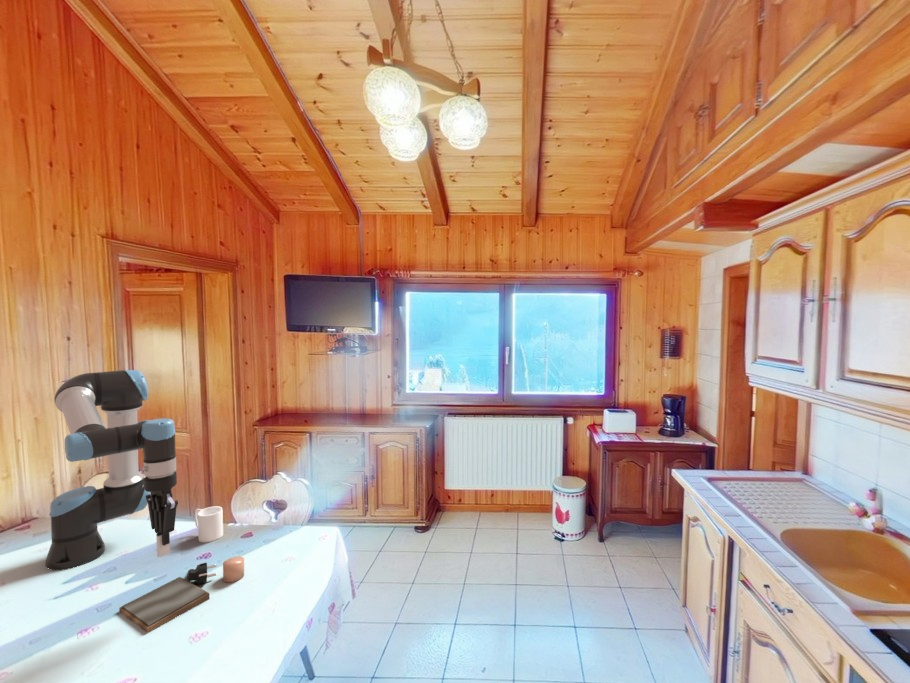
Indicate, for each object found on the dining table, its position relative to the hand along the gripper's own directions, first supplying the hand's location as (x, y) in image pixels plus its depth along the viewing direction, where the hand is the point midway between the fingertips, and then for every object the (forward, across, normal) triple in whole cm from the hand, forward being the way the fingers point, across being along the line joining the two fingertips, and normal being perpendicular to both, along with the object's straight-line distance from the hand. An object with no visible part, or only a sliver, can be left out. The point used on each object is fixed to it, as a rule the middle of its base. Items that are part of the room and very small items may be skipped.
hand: (163, 554), depth 117 cm
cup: (+16, -30, +29) cm, 45 cm away
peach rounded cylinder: (+16, +4, +18) cm, 24 cm away
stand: (+16, 0, 0) cm, 16 cm away
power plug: (+15, -11, +16) cm, 24 cm away
